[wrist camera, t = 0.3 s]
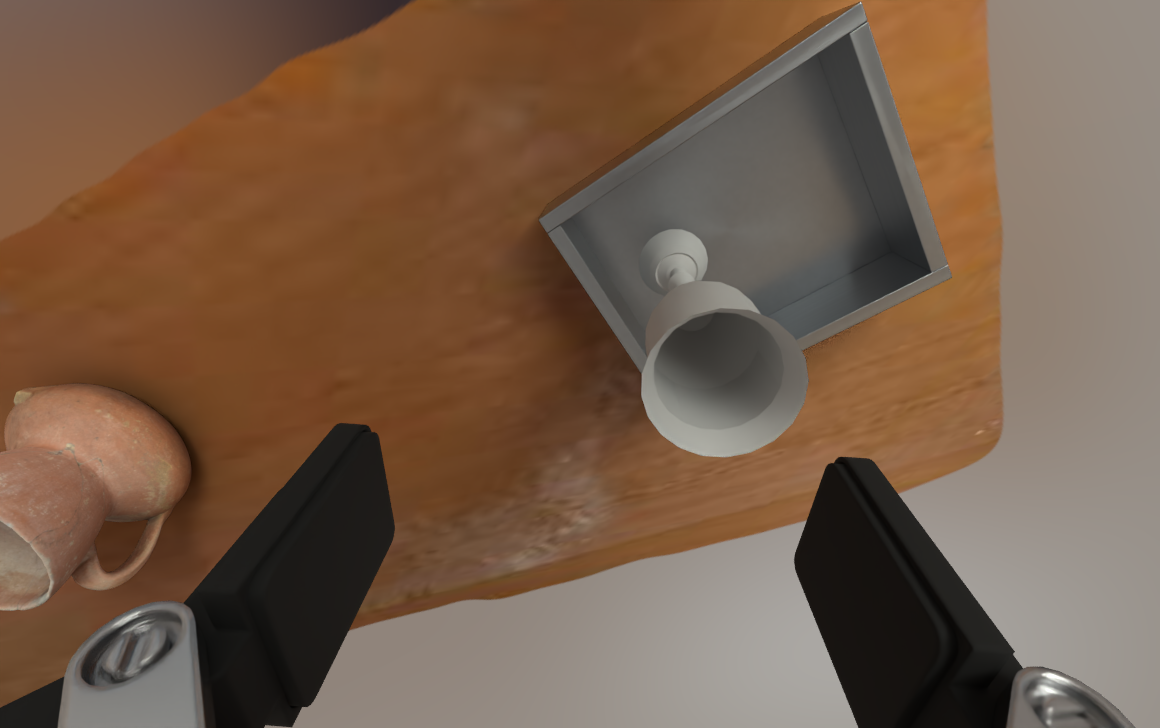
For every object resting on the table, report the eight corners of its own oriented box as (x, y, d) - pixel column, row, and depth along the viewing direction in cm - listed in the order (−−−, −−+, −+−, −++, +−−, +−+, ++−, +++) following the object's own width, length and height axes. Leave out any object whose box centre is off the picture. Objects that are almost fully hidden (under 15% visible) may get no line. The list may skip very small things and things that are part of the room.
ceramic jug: (4, 385, 45) (-228, 494, 33) (120, 336, 42) (-87, 435, 30) (148, 522, 53) (5, 653, 40) (255, 488, 50) (136, 619, 37)
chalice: (733, 287, 37) (828, 425, 21) (650, 323, 39) (679, 476, 23) (699, 196, 34) (778, 278, 18) (610, 239, 36) (612, 348, 20)
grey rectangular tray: (547, 204, 35) (537, 220, 31) (821, 16, 29) (861, 0, 25) (662, 380, 42) (669, 415, 37) (907, 254, 36) (952, 277, 31)
